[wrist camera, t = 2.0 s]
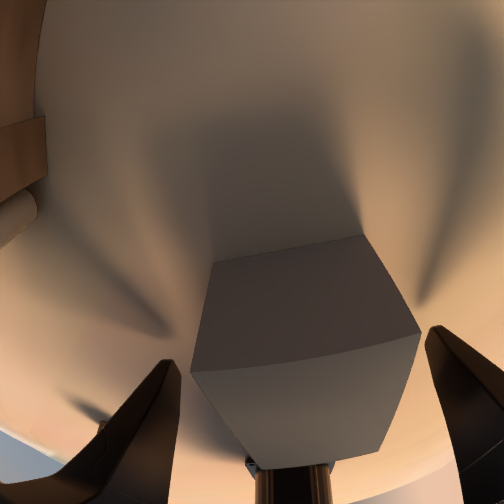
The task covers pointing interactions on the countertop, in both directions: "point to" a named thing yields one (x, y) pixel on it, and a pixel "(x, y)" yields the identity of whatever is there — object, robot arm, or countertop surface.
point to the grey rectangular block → (305, 351)
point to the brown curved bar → (20, 99)
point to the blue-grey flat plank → (16, 215)
